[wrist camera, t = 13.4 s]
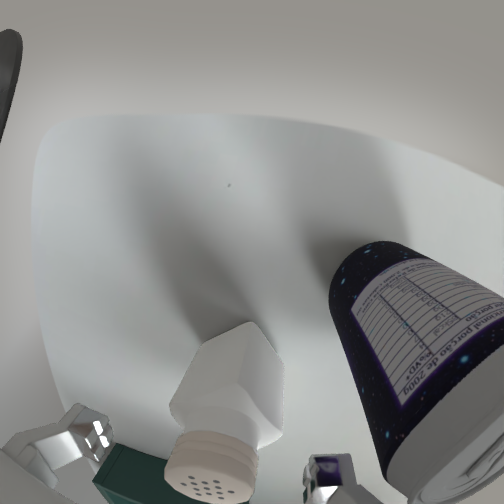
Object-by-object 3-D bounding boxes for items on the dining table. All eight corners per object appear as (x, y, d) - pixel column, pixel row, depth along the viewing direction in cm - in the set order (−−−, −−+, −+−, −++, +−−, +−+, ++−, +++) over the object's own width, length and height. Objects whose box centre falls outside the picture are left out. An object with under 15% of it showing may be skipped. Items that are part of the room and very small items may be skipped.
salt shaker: (288, 364, 16) (286, 502, 6) (233, 387, 16) (199, 510, 7) (254, 314, 15) (219, 451, 6) (198, 341, 16) (130, 461, 7)
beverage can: (307, 312, 15) (337, 527, 3) (355, 219, 14) (549, 308, 2) (386, 345, 15) (468, 505, 3) (432, 264, 13) (588, 366, 2)
